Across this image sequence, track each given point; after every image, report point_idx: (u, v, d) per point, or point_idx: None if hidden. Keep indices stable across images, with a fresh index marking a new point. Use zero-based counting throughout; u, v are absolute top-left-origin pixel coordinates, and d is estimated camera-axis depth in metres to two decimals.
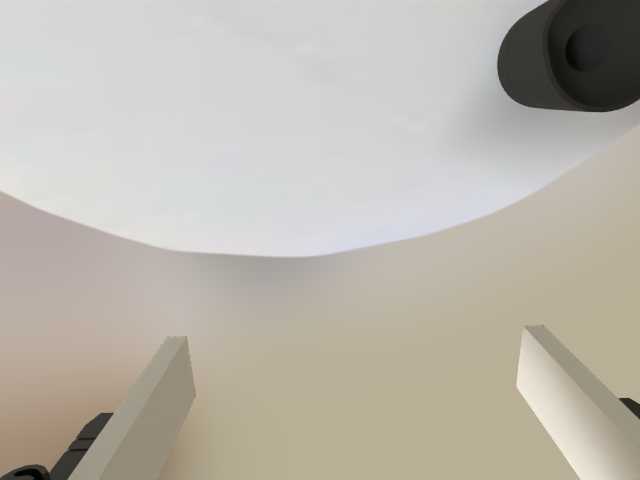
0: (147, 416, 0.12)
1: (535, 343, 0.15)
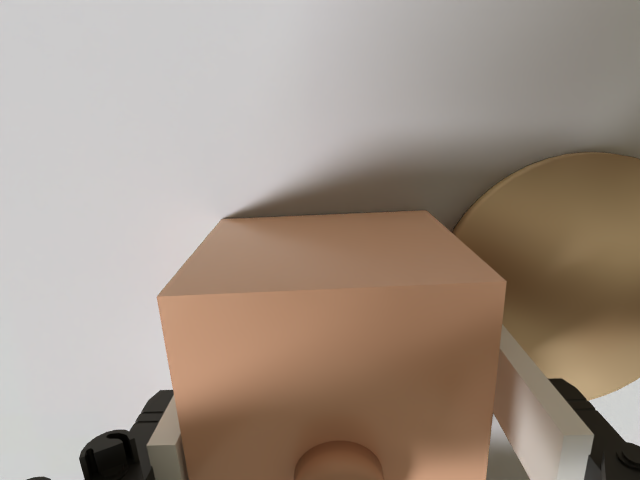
0: None
1: None
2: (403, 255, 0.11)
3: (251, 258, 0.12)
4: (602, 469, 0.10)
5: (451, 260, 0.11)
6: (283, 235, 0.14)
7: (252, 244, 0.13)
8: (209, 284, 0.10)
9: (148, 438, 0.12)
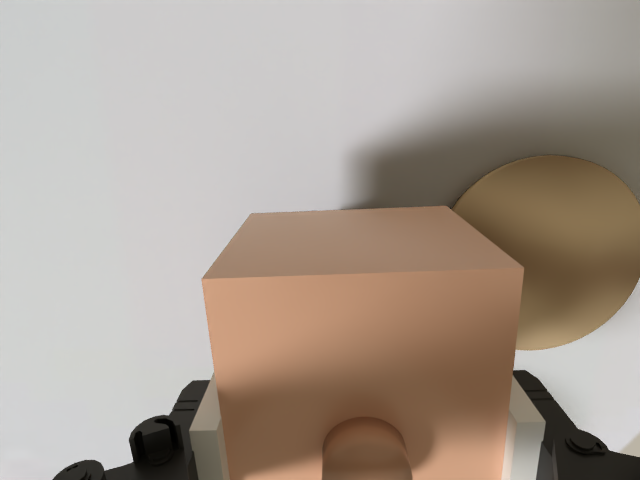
0: None
1: None
2: (426, 245, 0.12)
3: (283, 247, 0.12)
4: (553, 456, 0.10)
5: (471, 250, 0.12)
6: (311, 228, 0.14)
7: (283, 235, 0.14)
8: (247, 269, 0.11)
9: (186, 425, 0.12)
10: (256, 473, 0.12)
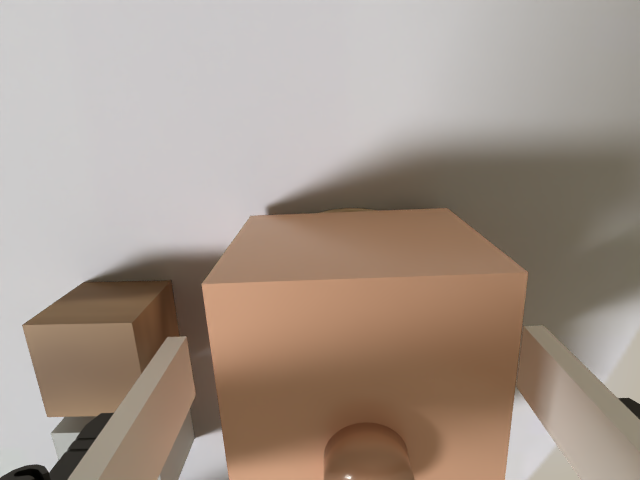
0: (147, 416, 0.12)
1: (535, 343, 0.15)
2: (428, 248, 0.12)
3: (284, 250, 0.12)
4: None
5: (474, 253, 0.11)
6: (311, 231, 0.14)
7: (283, 239, 0.14)
8: (248, 274, 0.11)
9: None
10: (257, 479, 0.12)
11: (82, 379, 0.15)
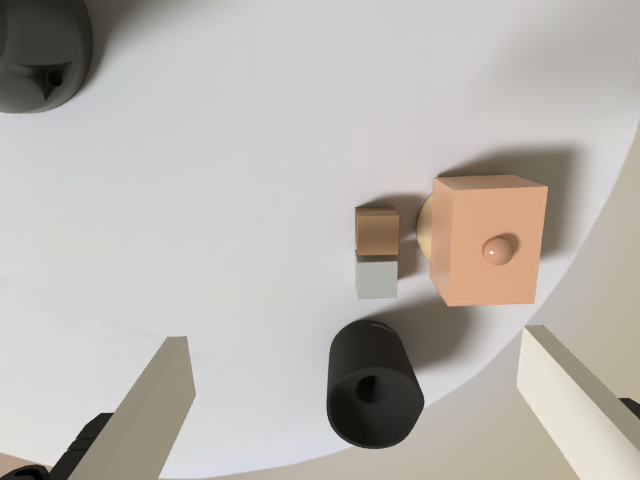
0: (147, 416, 0.12)
1: (535, 343, 0.15)
2: (515, 183, 0.37)
3: (466, 184, 0.38)
4: None
5: (530, 184, 0.37)
6: (467, 180, 0.39)
7: (460, 182, 0.39)
8: (464, 188, 0.36)
9: None
10: (459, 258, 0.37)
11: (375, 239, 0.41)
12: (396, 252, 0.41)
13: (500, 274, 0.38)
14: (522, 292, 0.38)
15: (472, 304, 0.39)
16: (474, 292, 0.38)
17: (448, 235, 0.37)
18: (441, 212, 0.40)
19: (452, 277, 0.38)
